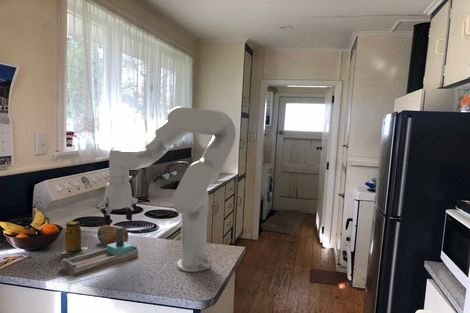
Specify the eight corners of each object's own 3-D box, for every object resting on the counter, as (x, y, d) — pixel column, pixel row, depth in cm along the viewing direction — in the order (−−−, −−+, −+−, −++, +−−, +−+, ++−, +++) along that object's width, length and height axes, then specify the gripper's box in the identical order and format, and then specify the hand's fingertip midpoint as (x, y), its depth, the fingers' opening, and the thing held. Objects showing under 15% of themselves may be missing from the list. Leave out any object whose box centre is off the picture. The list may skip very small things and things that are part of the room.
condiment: (68, 247, 151) (67, 220, 150) (88, 247, 152) (88, 220, 151) (61, 254, 144) (60, 225, 143) (83, 253, 145) (82, 225, 144)
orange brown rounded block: (97, 243, 158) (96, 224, 157) (101, 240, 161) (101, 222, 160) (125, 247, 153) (125, 228, 152) (129, 245, 156) (129, 226, 155)
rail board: (138, 256, 143) (138, 247, 143) (74, 276, 123) (74, 266, 123) (123, 250, 150) (123, 241, 149) (61, 268, 130) (61, 258, 130)
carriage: (133, 252, 143) (133, 228, 142) (117, 257, 137) (117, 232, 136) (122, 247, 148) (122, 224, 147) (106, 252, 142) (106, 227, 141)
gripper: (132, 176, 149) (131, 216, 151) (93, 180, 136) (93, 224, 137) (143, 179, 144) (142, 220, 146) (103, 183, 131) (103, 228, 133)
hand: (118, 222), depth 142 cm, fingers open, 9 cm apart
